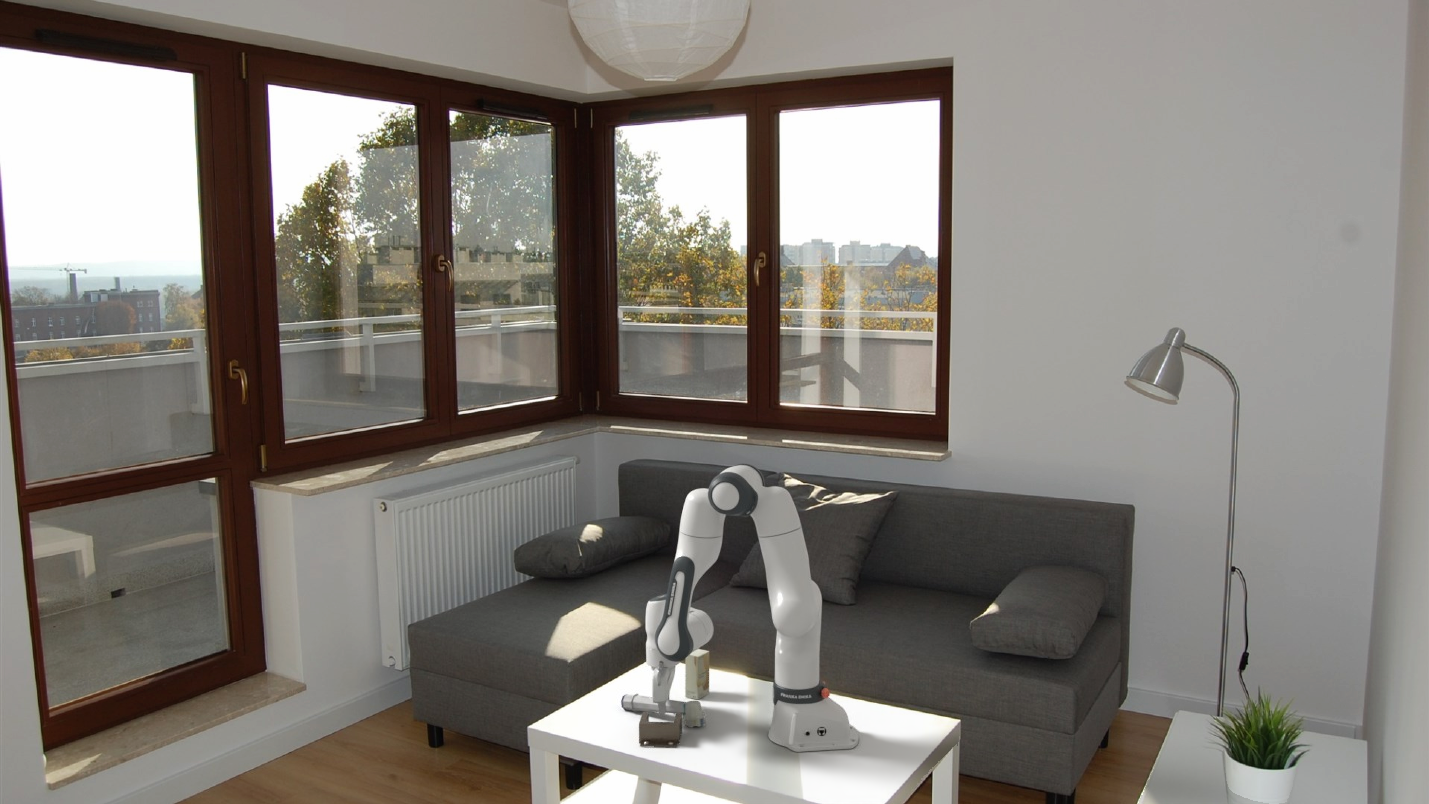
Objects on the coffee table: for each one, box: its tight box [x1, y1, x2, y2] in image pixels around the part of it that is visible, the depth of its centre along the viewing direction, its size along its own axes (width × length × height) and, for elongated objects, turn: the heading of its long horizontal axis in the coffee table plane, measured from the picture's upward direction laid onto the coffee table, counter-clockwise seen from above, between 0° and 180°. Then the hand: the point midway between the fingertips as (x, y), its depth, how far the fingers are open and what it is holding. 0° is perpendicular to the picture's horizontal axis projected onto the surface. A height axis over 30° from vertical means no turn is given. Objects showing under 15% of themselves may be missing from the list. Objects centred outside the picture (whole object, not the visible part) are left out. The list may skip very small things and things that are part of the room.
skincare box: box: [684, 648, 710, 700], centre depth 297 cm, size 6×4×12 cm
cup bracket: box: [638, 711, 683, 749], centre depth 268 cm, size 10×10×5 cm
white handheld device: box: [620, 693, 707, 728], centre depth 281 cm, size 5×7×25 cm
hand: (664, 707), depth 281 cm, fingers closed on white handheld device, 6 cm apart
